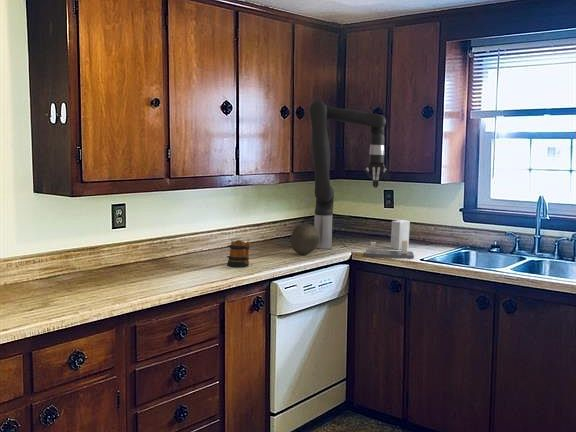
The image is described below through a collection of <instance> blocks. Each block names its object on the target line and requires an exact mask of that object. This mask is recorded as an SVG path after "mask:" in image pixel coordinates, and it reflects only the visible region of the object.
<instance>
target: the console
mask: <svg viewBox="0 0 576 432" xmlns="http://www.w3.org/2000/svg"><path fill="white" fill-rule="evenodd" d="M376 247H377V241H370V248H369V249H367V248H366V249H365V257H366V258H367V257H370V258H386V259H387V258H389V259H405V258H414V259H415V255H414V253H413V251H409V250H407V254H403V253H401V250H386V249H385V250H384V249H376Z"/></svg>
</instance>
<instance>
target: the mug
mask: <svg viewBox="0 0 576 432" xmlns="http://www.w3.org/2000/svg"><path fill="white" fill-rule="evenodd" d="M250 246H251V242H250V241H246V242H245V241H242V240H241V239H236V240H235V241H234V240H231V242H230V244H229V245H227V247H228V248H230V249H229V255H227V256H226V258H228V260H227V262H226V266H227V267H228V268H234V269H235V268H237V269H238V268H240V269H241V268H248V267H249V264H250V261H249V260H250V257H249V253H250V252H249V251H250Z"/></svg>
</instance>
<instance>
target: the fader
mask: <svg viewBox="0 0 576 432" xmlns="http://www.w3.org/2000/svg"><path fill="white" fill-rule="evenodd" d="M400 251H401V253H403V254H407V251H408V248H407V240H402V249H401V250H400Z"/></svg>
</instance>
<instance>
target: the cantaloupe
mask: <svg viewBox="0 0 576 432" xmlns="http://www.w3.org/2000/svg"><path fill="white" fill-rule="evenodd" d="M319 240H320V235H319V232H318V230H317V229H316V228H315V227H314V225H312V224H309V223H301V224H299V225H297V226H295V228H294V229H293V231H292V233H291V234H290V245H291V248H292V250H293V251H294V252H295V253H296V254H298V255H301V256H303V255H308V254H311V253H312V252H313V251H314V250H316V249H317V248H316V247H317V246H318V244H319Z"/></svg>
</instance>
